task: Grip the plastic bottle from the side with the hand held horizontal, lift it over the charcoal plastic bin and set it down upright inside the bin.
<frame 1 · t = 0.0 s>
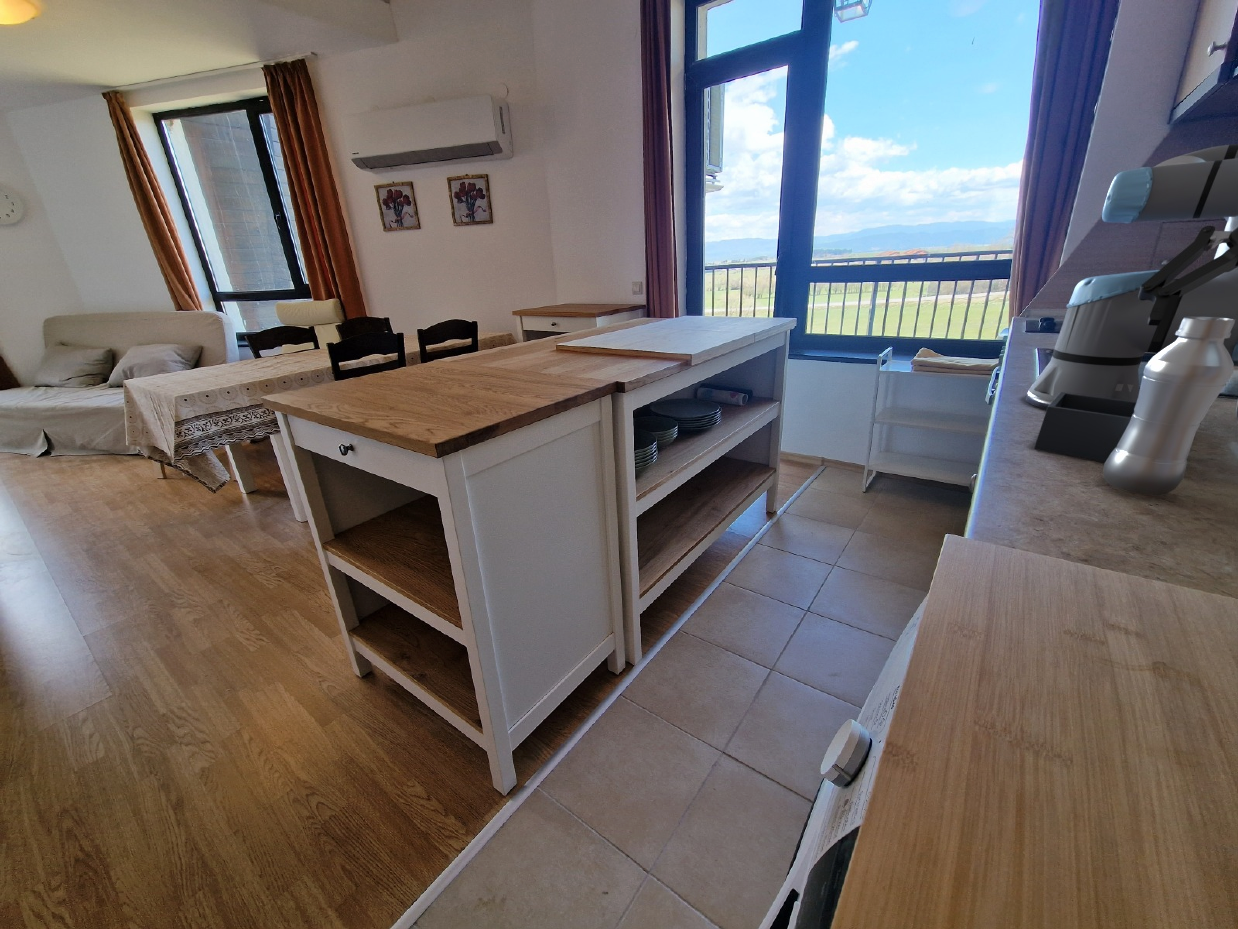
hand: (1237, 353, 57), 15 cm above the countertop, tool tilted 35°, fingers open, 13 cm apart
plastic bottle: (1133, 491, 58), on the countertop
bin: (1088, 448, 71), on the countertop
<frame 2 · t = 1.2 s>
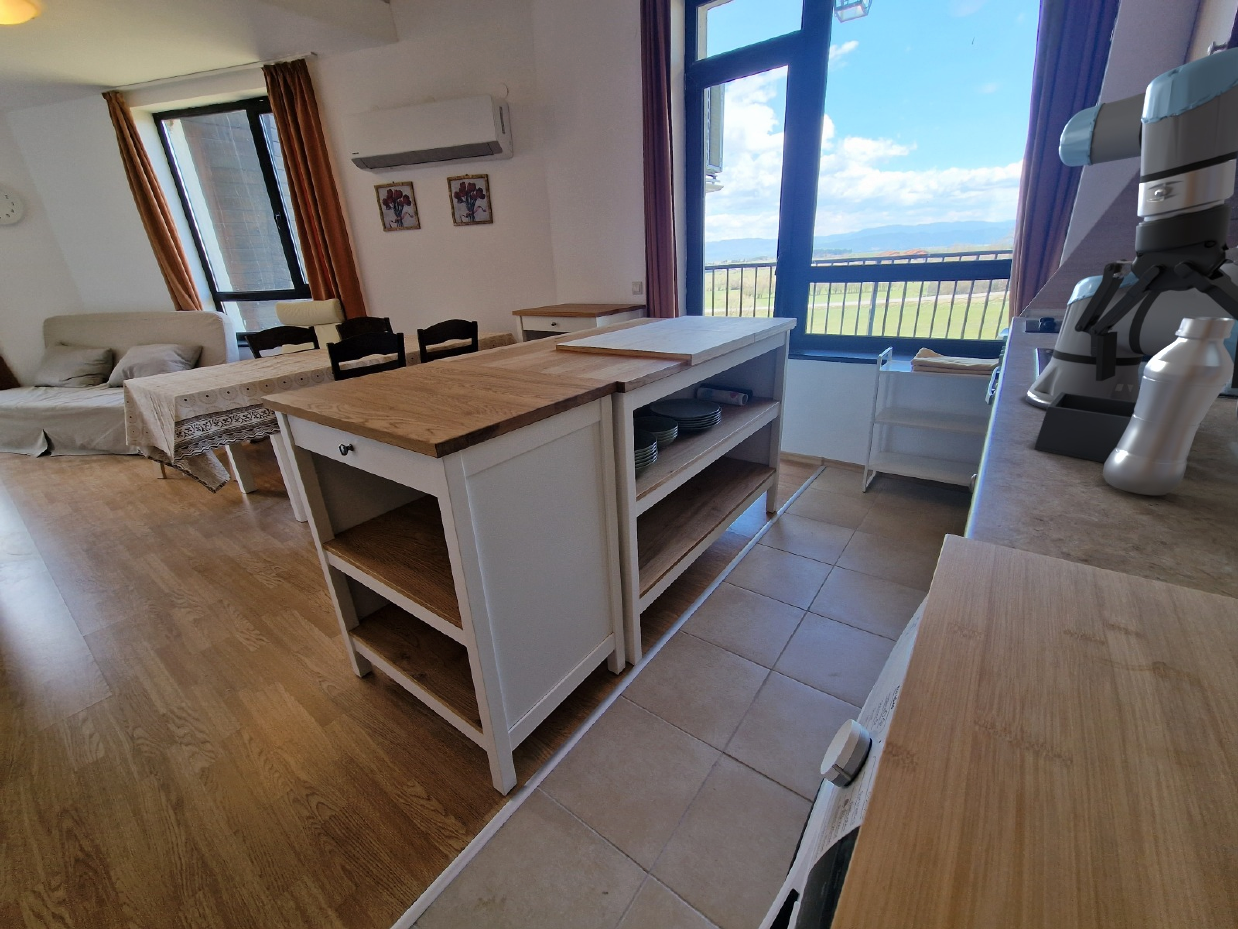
hand: (1167, 381, 65), 10 cm above the countertop, tool pointing down, fingers open, 13 cm apart
nothing on the countertop moved.
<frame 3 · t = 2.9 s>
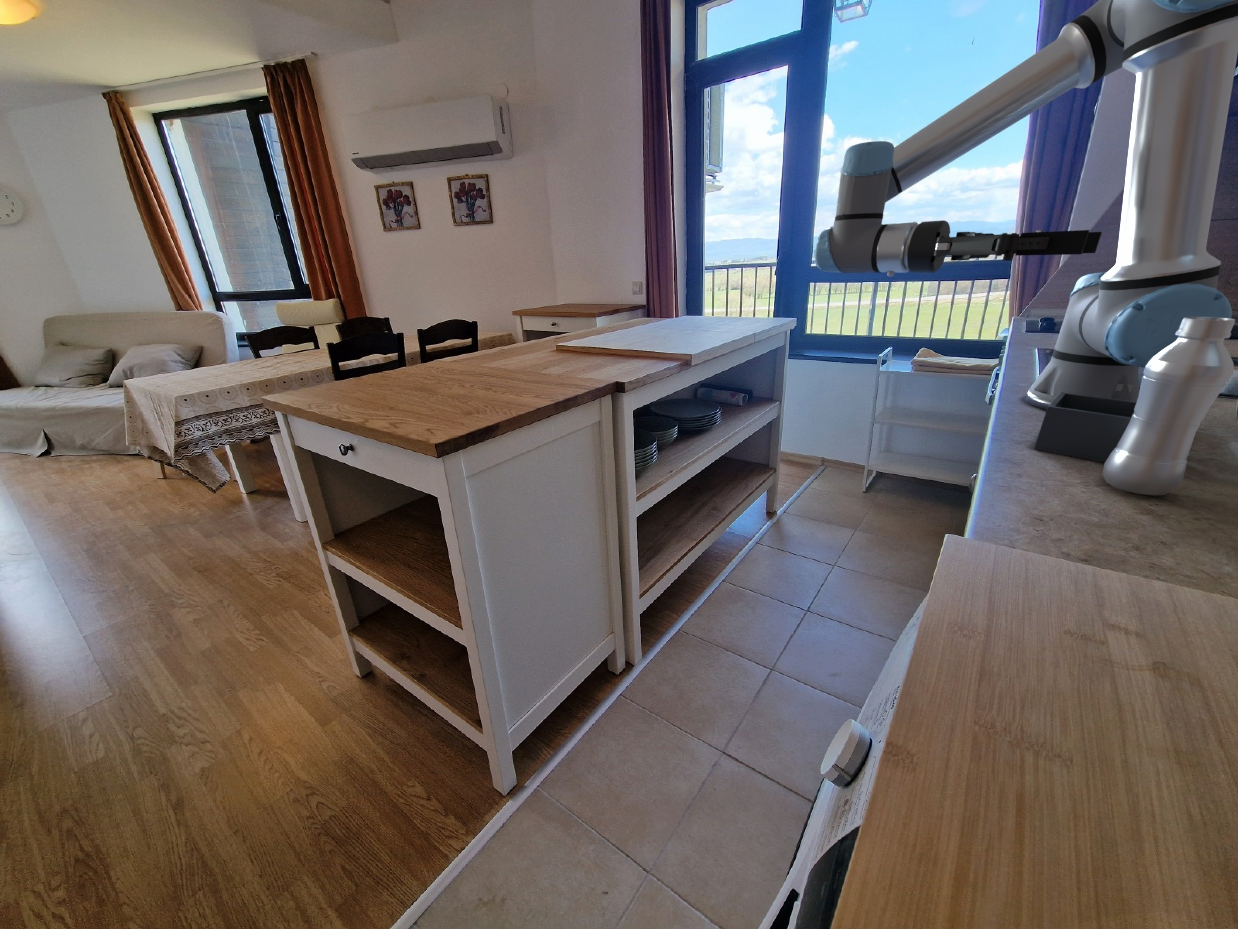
hand: (1092, 242, 63), 28 cm above the countertop, tool horizontal, fingers open, 13 cm apart
nothing on the countertop moved.
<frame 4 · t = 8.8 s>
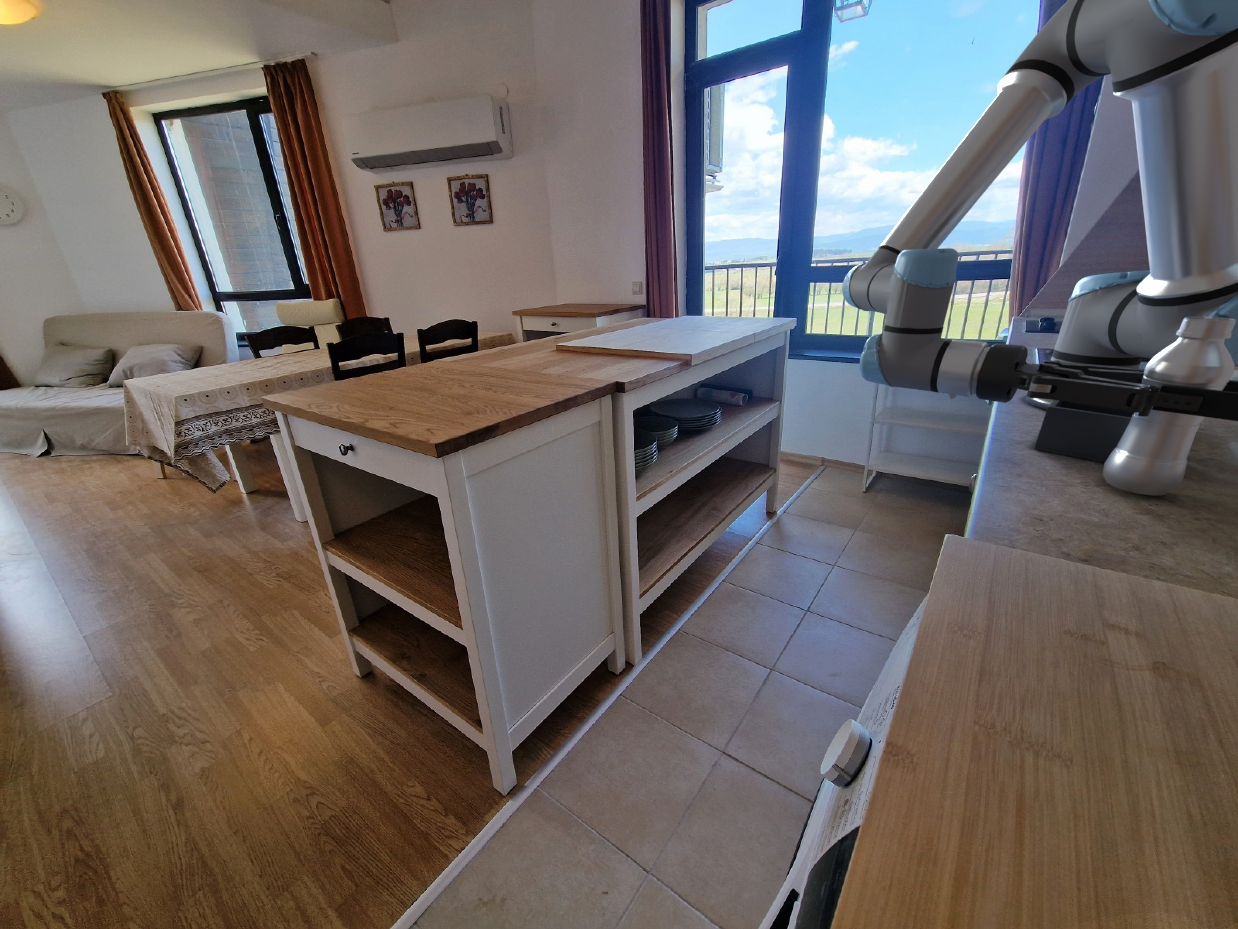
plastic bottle: (1133, 491, 58), on the countertop, touching gripper
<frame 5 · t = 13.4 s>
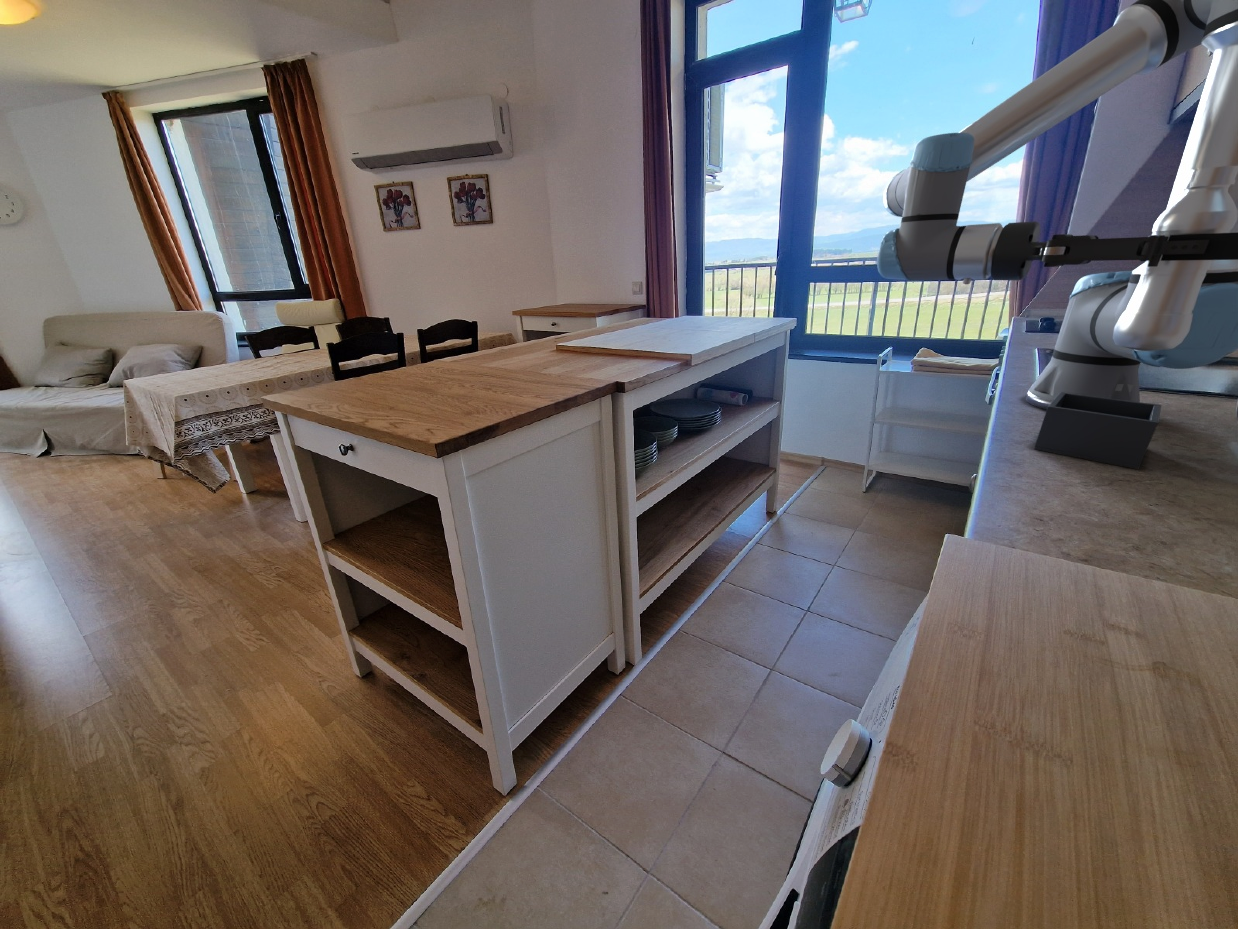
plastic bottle: (1141, 351, 62), point 15 cm above the countertop, touching gripper
when the fingers open (13 cm above the countertop, at t = 18.1 s): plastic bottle stays where it is, resting on bin.
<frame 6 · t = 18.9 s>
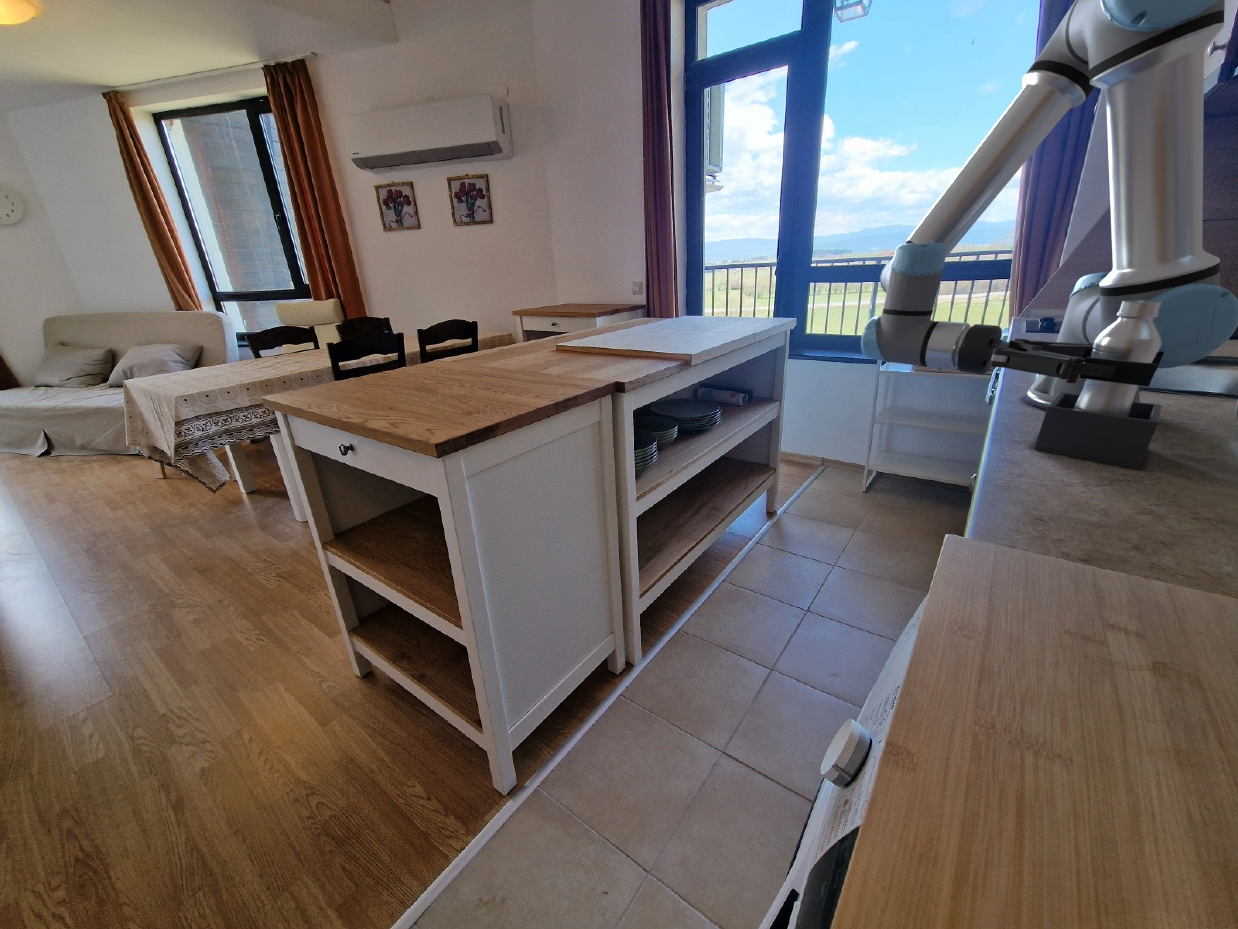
hand: (1157, 368, 63), 12 cm above the countertop, tool horizontal, fingers open, 12 cm apart
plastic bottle: (1087, 446, 71), resting on bin
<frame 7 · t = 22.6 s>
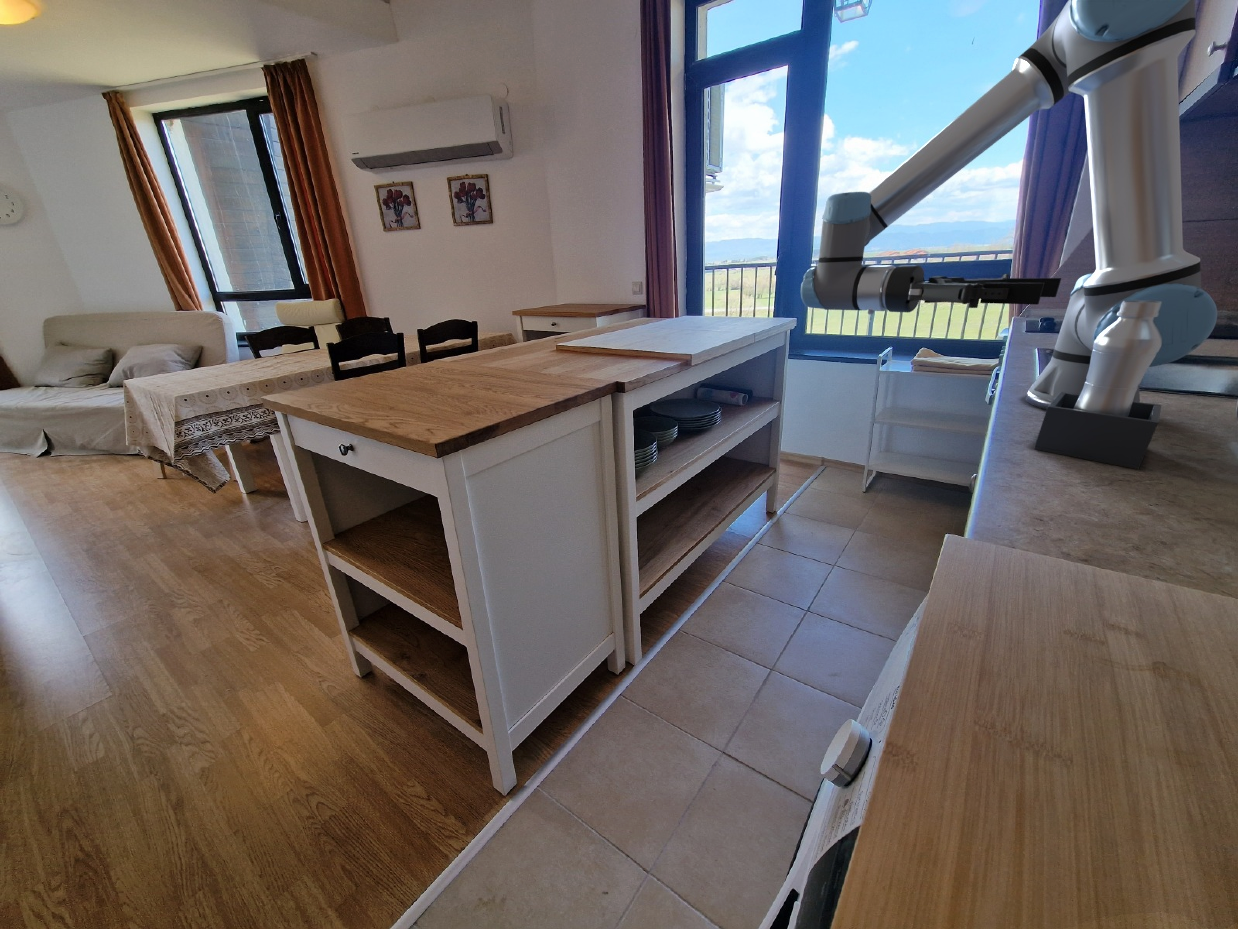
hand: (1050, 290, 69), 22 cm above the countertop, tool horizontal, fingers open, 13 cm apart
nothing on the countertop moved.
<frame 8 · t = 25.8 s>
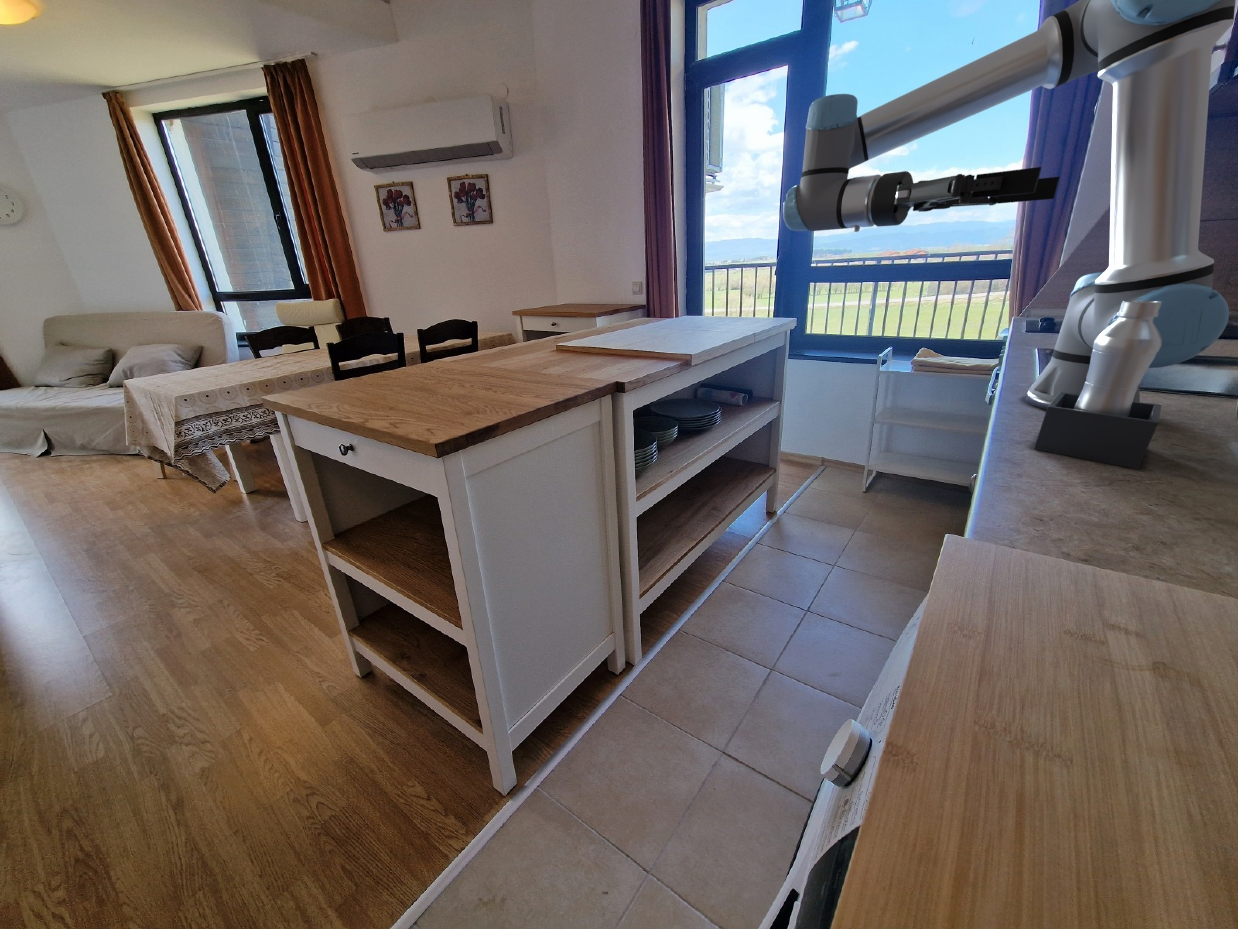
hand: (1048, 184, 63), 35 cm above the countertop, tool horizontal, fingers open, 13 cm apart
nothing on the countertop moved.
at the end: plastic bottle inside the target area in the bin (0.2 cm from its centre), point 0.3 cm above the bin's base; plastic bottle tilted 0°; the gripper is holding nothing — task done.
